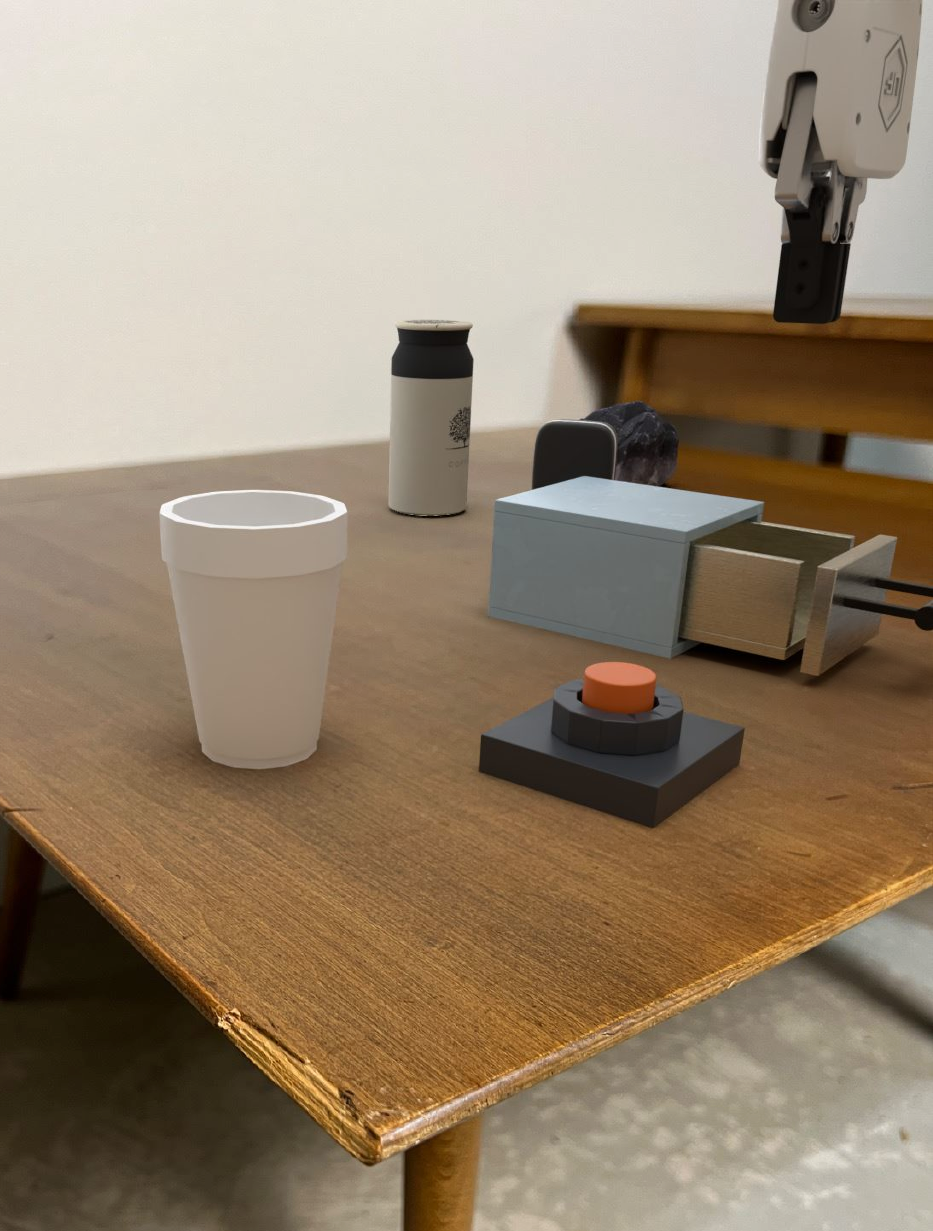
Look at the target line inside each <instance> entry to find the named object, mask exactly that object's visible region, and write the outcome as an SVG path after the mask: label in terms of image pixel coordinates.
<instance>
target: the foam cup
mask: <svg viewBox="0 0 933 1231" xmlns="http://www.w3.org/2000/svg"><path fill="white" fill-rule="evenodd" d="M158 514H159V516H158V517H159V533H160V551H161V561H163V562H165V563H166V568H167V573H168V579H169V585H170V590H171V595H172V601H173V605H174V611H175V616H176V623H177V628H178V633H179V640H180V644H181V649H182V654H183V660H184V665H185V670H186V676H187V681H188V686H189V692H190V697H191V703H192V709H193V714H194V719H195V724H196V730H197V735H198V740H199V741H198V742H199V743H200V744H201V753H202V754H203V755H204V756H206V757H208V759H209V760H211V761H212V762H214V763H217V764H221V765H224V766H227V767H229V768H235V769H236V768H237V769H250V770H251V769H252V770H266V769H274V768H283V767H284V768H285V767H289V766H291V765H294V764H297V763H299V762H302V761H305V760H307V759H308V758H309V757H310V756H312V755H313V754H314V753H315V752H316V751H317V750H318V747H317V746H318V745H317V744H318V741H319V738H320V731H321V724H322V716H323V710H324V703H325V702H324V701H325V694H326V687H327V680H328V679H327V678H328V673H329V672H328V671H329V666H330V658H331V649H332V644H333V643H332V642H333V635H334V628H335V621H336V613H337V605H338V598H339V590H340V586H341V585H340V583H341V577H342V570H343V562H344V561H345V560H347V559H348V510H347V508H346V505H345V503H344V502H343V501H339V500H336V499H334V498H331V497H329V496H325V495H320V494H313V493H306V492H300V491H294V490H293V491H291V490H290V491H289V490H270V489H269V490H268V489H267V490H266V489H242V490H222V491H220V490H219V491H211V492H204V493H197V494H191V495H185V496H180V497H178V498H175V499H172V500H169V501H167V502H164V503H162V504H161V507H160V510H159V513H158Z"/></svg>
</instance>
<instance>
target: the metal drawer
mask: <svg viewBox="0 0 933 1231" xmlns="http://www.w3.org/2000/svg"><path fill="white" fill-rule="evenodd" d="M855 540H856V536H855V535H851V534H846V533H840V532H839V533H838V532H834V531H833V532H832V531H827V530H826V531H825V530H821V529H814V528H813V529H812V528H806V527H800V526H794V525H786V524H780V523H774V522H767V521H762V520H761V521H755V520H749V519H746V520H743V521H741V522H738V523H736V524H733V525H731V526H728V527H726V528H723V529H720V530H718V531H715V532H713V533H710V534H708V535H705V536H703V537H700V538H698V539H695V540H693V541H690V546H689V553H688V561H687V569H686V577H685V585H684V593H683V601H682V608H681V616H680V624H679V632H678V637H680V638H685V639H689V640H694V641H698V642H702V644H703V643H704V644H708V645H713V646H717V647H722V648H726V649H730V650H735V651H740V652H745V653H749V654H752V655H753V654H754V655H758V656H762V657H767V658H771V659H774V660H775V659H776V660H781V661H785V660H787V659H789V658H790V657H791V656H793V655H795V654H796V653H798V652H800V651H801V650H803V652H802V657H801V662H800V669H799V672H800V673H802V674H805V675H806V674H807V675H809V676H810V675H811V676H815V677H819V676H820V675H822V674H823V673H825V672H826V671H828V670H829V669H830V668H832V667H833V666H835V665H837V664H838V663H839V662H841V661H842V660H844V659H845V658H846V657H848V656H849V655H851V654H852V653H854V652H855V651H857V650H858V649H859V648H861V647H863V646H864V645H865V644H866V643H868V642H870V641H871V640H872V639H874V638H876V637H877V636H878V635H879V632H880V627H881V623H882V618H883V615H886V616H890V617H896V618H902V619H907V620H912V621H914V623H915V625H916V627H917V628H918V629H920V630H922V631H925V632H931V631H933V599H931V600H930V601H928V602H927V603H926V604H924V605H922V606H920V608H917V607H911V606H907V605H900V604H895V603H889V602H885V601H886V597H887V592H888V591H889V590H890V591H894V592H899V593H905V594H912V595H917V596H922V597H928V598H933V585H928V584H922V583H916V582H911V581H904V580H899V579H893V578H890V577H891V572H892V567H893V562H894V557H895V551H896V547H897V542H898V537H897V536H893V535H886V534H878V535H876V536H874V537H872V538H870V539H868V540H866V541H864V542H863V543H861V544H858V545H856V546H855ZM854 546H855V547H854Z"/></svg>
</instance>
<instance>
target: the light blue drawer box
mask: <svg viewBox="0 0 933 1231" xmlns="http://www.w3.org/2000/svg"><path fill="white" fill-rule="evenodd" d="M764 506H765V501H761V500H760V501H759V500H752V499H746V498H741V497H740V498H739V497H731V496H726V495H719V494H713V493H712V494H711V493H705V492H698V491H690V490H683V489H676V488H669V487H664V486H663V487H662V486H650V485H643V484H636V483H629V482H622V481H615V480H608V479H601V478H594V477H587V476H583V477H579V478H575V479H571V480H568V481H564V482H560V483H556V484H553V485H549V486H545V487H542V488H538V489H534V490H532V489H530V490H527V491H524V492H520V493H516V494H511V495H508V496H504V497H500V498H497V499H495V500H494V506H493V508H494V509H493V510H494V512H493V524H492V525H493V526H492V541H491V542H492V543H491V560H490V573H489V574H490V578H489V592H488V594H489V595H488V609H487V617H488V618H493V619H499V620H503V621H507V622H511V623H516V624H520V625H525V626H528V627H533V628H538V629H541V630H546V631H550V632H554V633H558V634H563V635H567V636H572V637H575V638H580V639H584V640H588V641H592V642H597V643H602V644H606V645H609V646H614V647H619V648H623V649H627V650H631V651H636V652H640V653H643V654H648V655H653V656H656V657H657V656H658V657H662V658H664V659H665V658H666V659H673V658H674V657H677V656H679V655H681V654H683V653H685V652H687V651H689V650H691V649H693V648H694V647H696V646H699V645H700V644H703V642H698V641H694V640H689V639H685V638H680V637H678V632H679V624H680V616H681V608H682V601H683V593H684V585H685V577H686V569H687V561H688V553H689V546H690V541H693V540H695V539H698V538H700V537H703V536H705V535H708V534H710V533H713V532H715V531H718V530H720V529H723V528H726V527H728V526H731V525H733V524H736V523H738V522H741V521H743V520H746V519H749V520H755V521H762V519H763V513H764Z"/></svg>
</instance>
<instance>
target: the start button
mask: <svg viewBox="0 0 933 1231" xmlns="http://www.w3.org/2000/svg"><path fill="white" fill-rule="evenodd" d="M583 674H584V676H583V679H584V684H583V695H582V703H583V704H585V705H586V706H588V707H590V708H594V709H598V710H601V711H605V712H610V713H624V714H633V713H640V712H648V711H651V710H652V708H653V703H654V695H655V686H656V685H657V674H656V673H655V672H654V671H653V670H651V669H650V668H647V667H645V666H643V665H642V666H641V665H639V664H634V663H630V662H623V661H621V662H620V661H604V662H597V663H593V664H591V665H589V666H587V667H586V668H585V670H584V673H583Z"/></svg>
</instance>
